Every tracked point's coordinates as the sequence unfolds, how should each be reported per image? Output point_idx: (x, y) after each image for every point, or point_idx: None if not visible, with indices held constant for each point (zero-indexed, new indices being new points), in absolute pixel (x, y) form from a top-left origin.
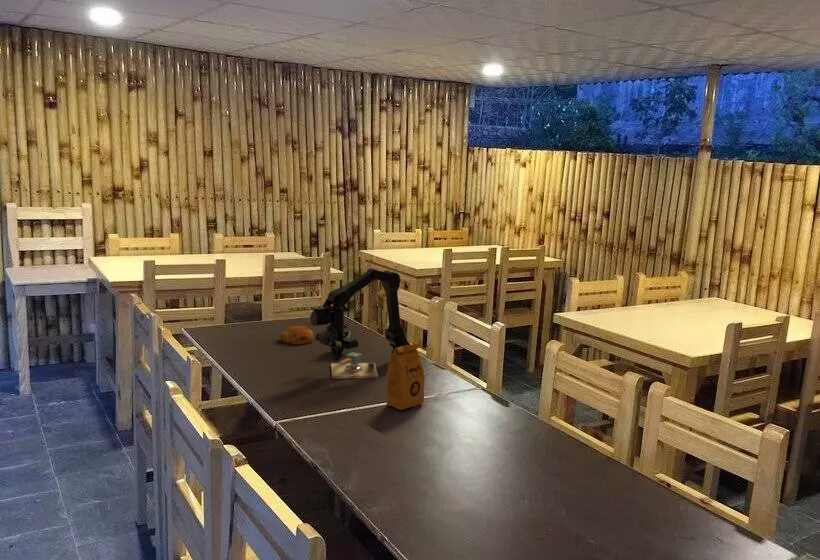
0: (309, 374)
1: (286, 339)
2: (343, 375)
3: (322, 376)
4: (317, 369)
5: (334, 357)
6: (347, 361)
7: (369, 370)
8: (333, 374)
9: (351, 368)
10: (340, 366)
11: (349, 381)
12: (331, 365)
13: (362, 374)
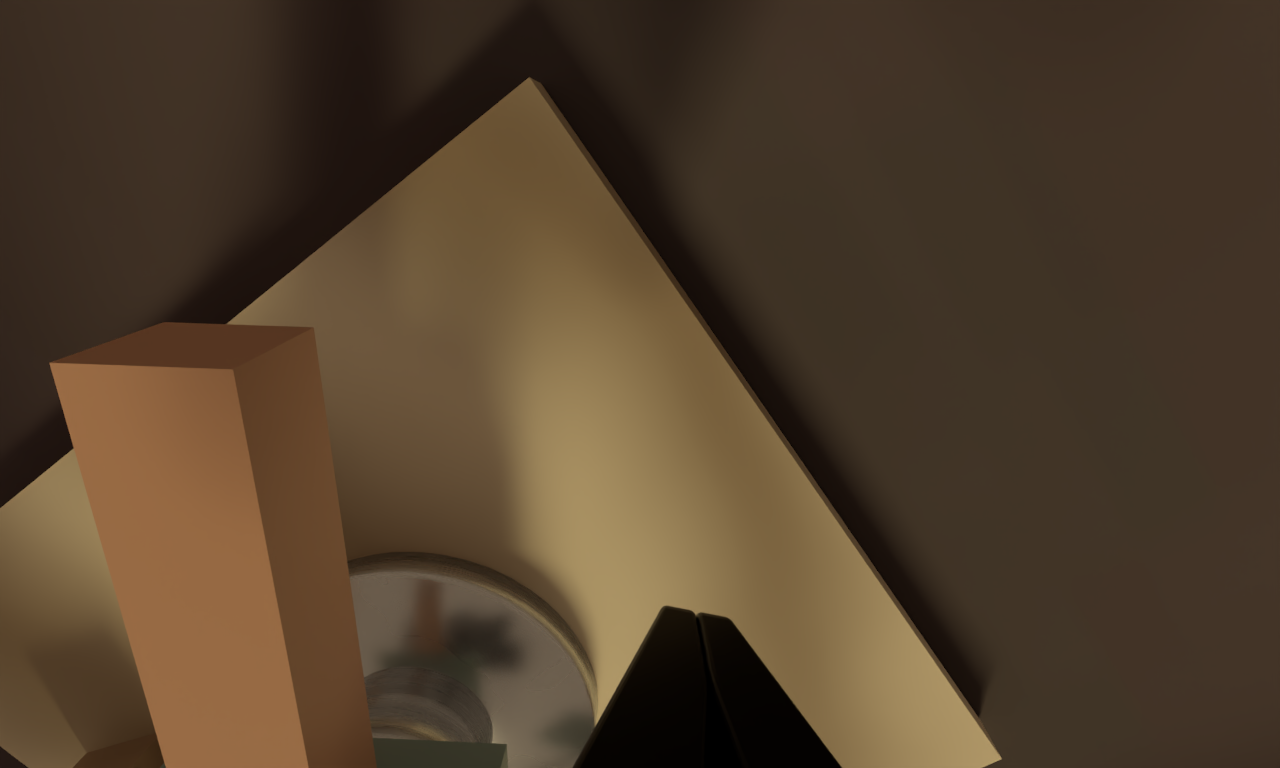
0: (1204, 40)
1: None
2: (332, 273)
3: (827, 92)
4: (1152, 441)
5: (753, 686)
6: (163, 619)
7: (138, 746)
8: (574, 209)
9: (410, 652)
10: None
11: (101, 136)
12: (940, 674)
13: (85, 533)
